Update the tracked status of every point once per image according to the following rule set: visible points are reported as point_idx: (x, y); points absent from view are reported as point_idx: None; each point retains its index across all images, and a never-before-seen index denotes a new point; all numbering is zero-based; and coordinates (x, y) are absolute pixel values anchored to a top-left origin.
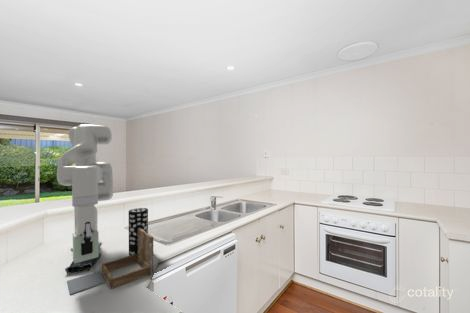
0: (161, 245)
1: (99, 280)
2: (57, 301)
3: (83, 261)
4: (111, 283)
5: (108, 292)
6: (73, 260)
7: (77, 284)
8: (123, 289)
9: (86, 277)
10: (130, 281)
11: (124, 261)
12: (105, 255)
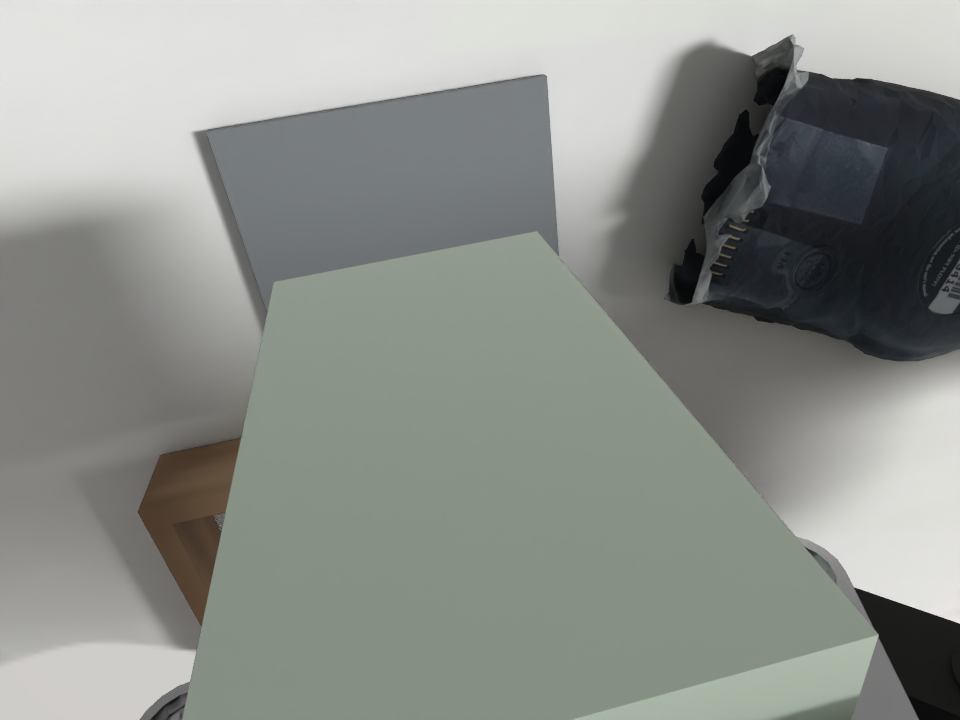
0: None
1: None
2: (125, 11)
3: (825, 230)
4: (150, 492)
5: (107, 441)
6: (430, 252)
7: (389, 189)
8: (109, 534)
9: None
10: None
11: None
12: (879, 381)
